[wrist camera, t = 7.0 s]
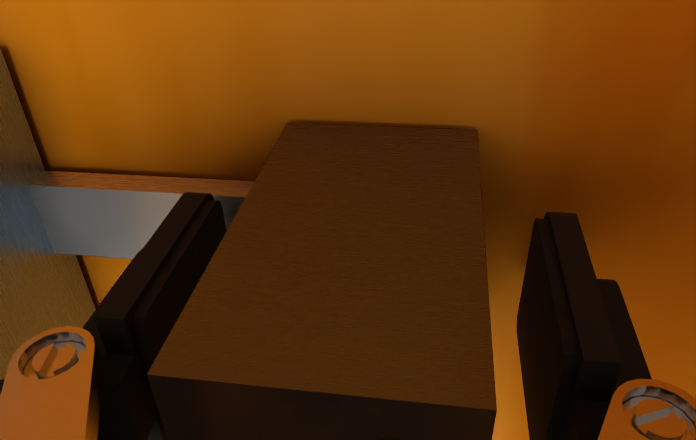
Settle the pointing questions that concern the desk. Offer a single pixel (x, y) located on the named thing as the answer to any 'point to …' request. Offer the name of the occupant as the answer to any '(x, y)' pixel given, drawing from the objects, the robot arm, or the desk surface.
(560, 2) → the desk surface
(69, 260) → the block dumbbell
